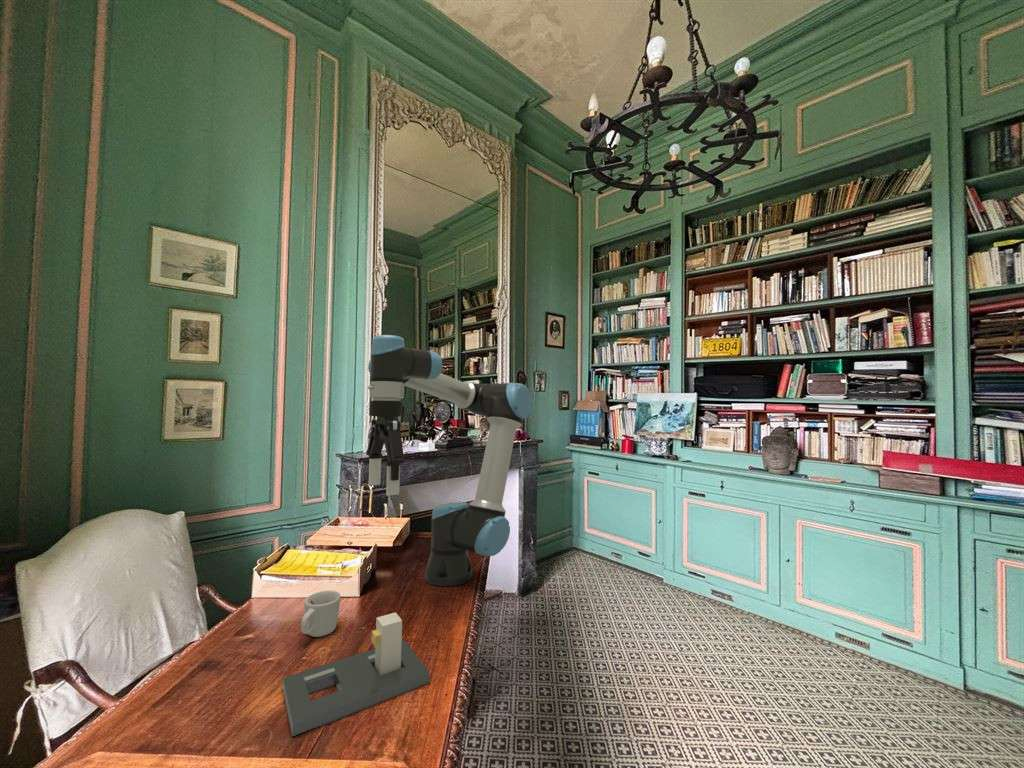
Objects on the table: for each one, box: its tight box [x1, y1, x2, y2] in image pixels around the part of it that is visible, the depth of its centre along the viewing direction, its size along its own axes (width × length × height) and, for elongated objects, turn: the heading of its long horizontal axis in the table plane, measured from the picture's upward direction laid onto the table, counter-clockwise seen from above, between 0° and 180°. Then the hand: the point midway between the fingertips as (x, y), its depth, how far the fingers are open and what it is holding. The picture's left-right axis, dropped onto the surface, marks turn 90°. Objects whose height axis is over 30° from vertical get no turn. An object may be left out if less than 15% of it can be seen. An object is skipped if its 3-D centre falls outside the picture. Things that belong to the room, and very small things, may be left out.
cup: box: [300, 590, 342, 638], centre depth 97 cm, size 11×8×8 cm
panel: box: [282, 638, 430, 738], centre depth 80 cm, size 24×14×2 cm, turn 125°
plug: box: [370, 611, 403, 677], centre depth 83 cm, size 5×4×11 cm
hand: (383, 489), depth 97 cm, fingers open, 13 cm apart
